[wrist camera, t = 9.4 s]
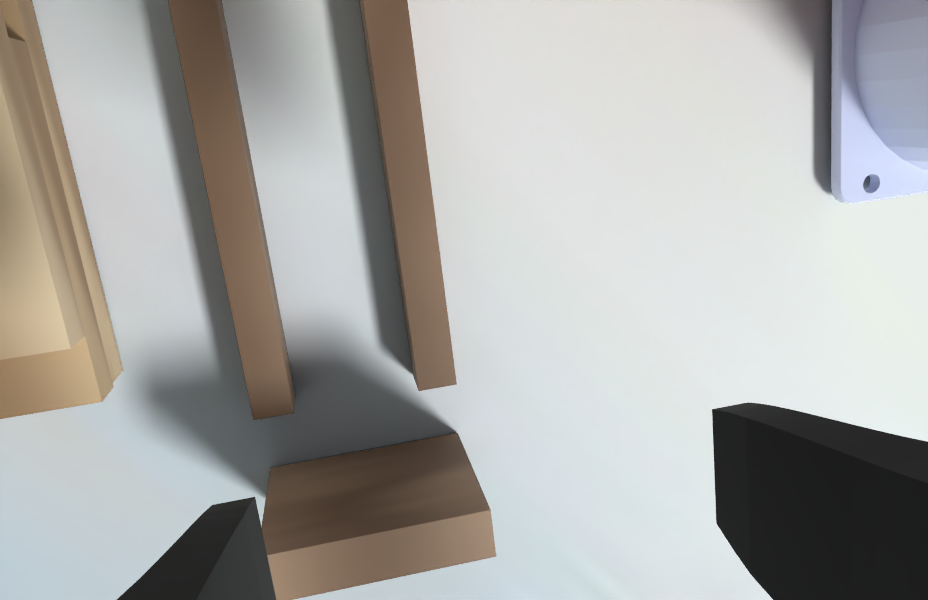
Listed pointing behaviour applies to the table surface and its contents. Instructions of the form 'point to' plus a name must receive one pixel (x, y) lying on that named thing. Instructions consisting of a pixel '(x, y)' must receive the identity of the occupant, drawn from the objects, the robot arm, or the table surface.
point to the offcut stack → (44, 244)
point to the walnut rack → (264, 349)
